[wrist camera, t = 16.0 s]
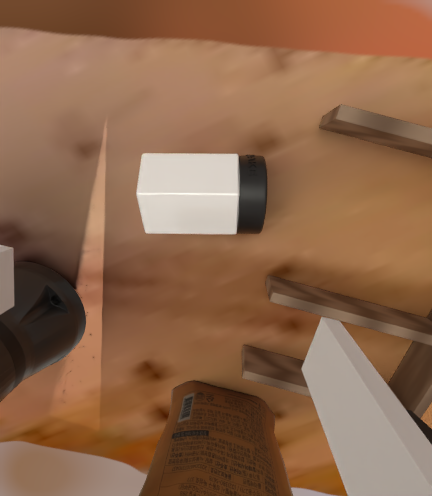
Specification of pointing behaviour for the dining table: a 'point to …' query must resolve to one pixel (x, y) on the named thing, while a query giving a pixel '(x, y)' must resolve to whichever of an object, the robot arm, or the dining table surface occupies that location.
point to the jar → (202, 193)
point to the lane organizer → (350, 309)
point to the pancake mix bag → (217, 447)
